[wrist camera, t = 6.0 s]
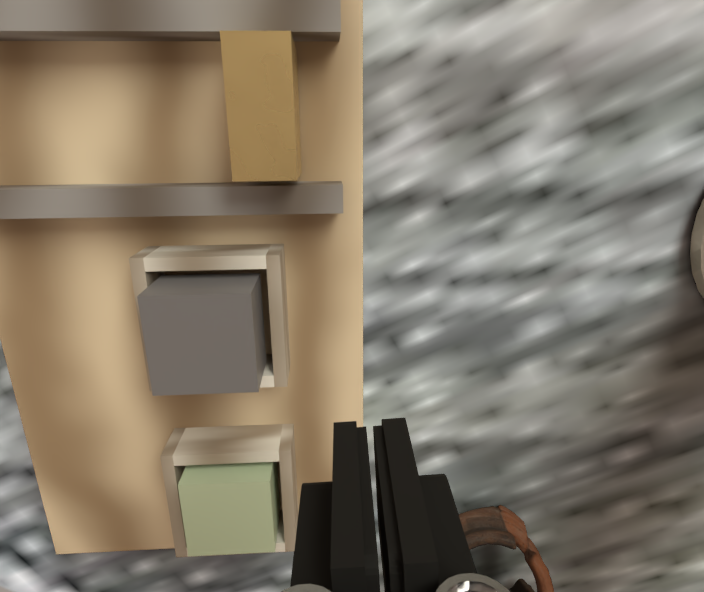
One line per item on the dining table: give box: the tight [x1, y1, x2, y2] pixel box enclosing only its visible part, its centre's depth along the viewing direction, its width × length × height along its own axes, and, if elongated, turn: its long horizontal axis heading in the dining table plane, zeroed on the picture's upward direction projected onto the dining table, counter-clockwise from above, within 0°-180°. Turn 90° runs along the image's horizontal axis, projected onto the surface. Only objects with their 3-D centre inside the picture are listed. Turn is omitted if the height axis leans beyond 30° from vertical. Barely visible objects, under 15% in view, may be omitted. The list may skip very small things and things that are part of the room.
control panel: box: [0, 0, 363, 557], centre depth 24 cm, size 18×30×5 cm, turn 1°
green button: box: [178, 462, 280, 557], centre depth 25 cm, size 4×4×3 cm
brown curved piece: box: [459, 505, 554, 592], centre depth 32 cm, size 12×10×8 cm
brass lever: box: [220, 31, 302, 181], centre depth 19 cm, size 2×5×4 cm, turn 0°
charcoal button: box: [137, 273, 266, 396], centre depth 21 cm, size 4×4×3 cm
